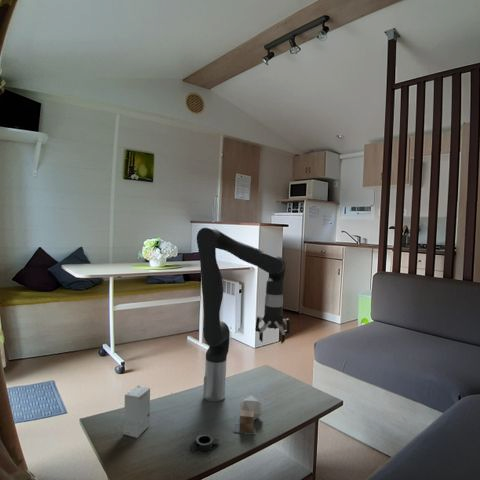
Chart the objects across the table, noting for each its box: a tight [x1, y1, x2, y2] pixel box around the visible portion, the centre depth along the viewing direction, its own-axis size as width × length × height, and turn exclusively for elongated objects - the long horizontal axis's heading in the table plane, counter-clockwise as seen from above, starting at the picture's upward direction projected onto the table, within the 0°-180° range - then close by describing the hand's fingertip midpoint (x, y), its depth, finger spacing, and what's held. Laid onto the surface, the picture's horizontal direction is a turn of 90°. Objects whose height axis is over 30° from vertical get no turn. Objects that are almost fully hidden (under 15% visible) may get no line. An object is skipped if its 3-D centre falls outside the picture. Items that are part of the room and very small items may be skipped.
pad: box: [233, 423, 257, 435], centre depth 131 cm, size 8×5×1 cm, turn 85°
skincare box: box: [123, 385, 151, 439], centre depth 128 cm, size 8×6×15 cm
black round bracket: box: [188, 434, 220, 454], centre depth 120 cm, size 8×10×3 cm
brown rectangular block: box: [239, 410, 255, 433], centre depth 131 cm, size 5×4×6 cm
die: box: [239, 394, 263, 421], centre depth 139 cm, size 8×9×10 cm
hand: (271, 342), depth 147 cm, fingers open, 8 cm apart
